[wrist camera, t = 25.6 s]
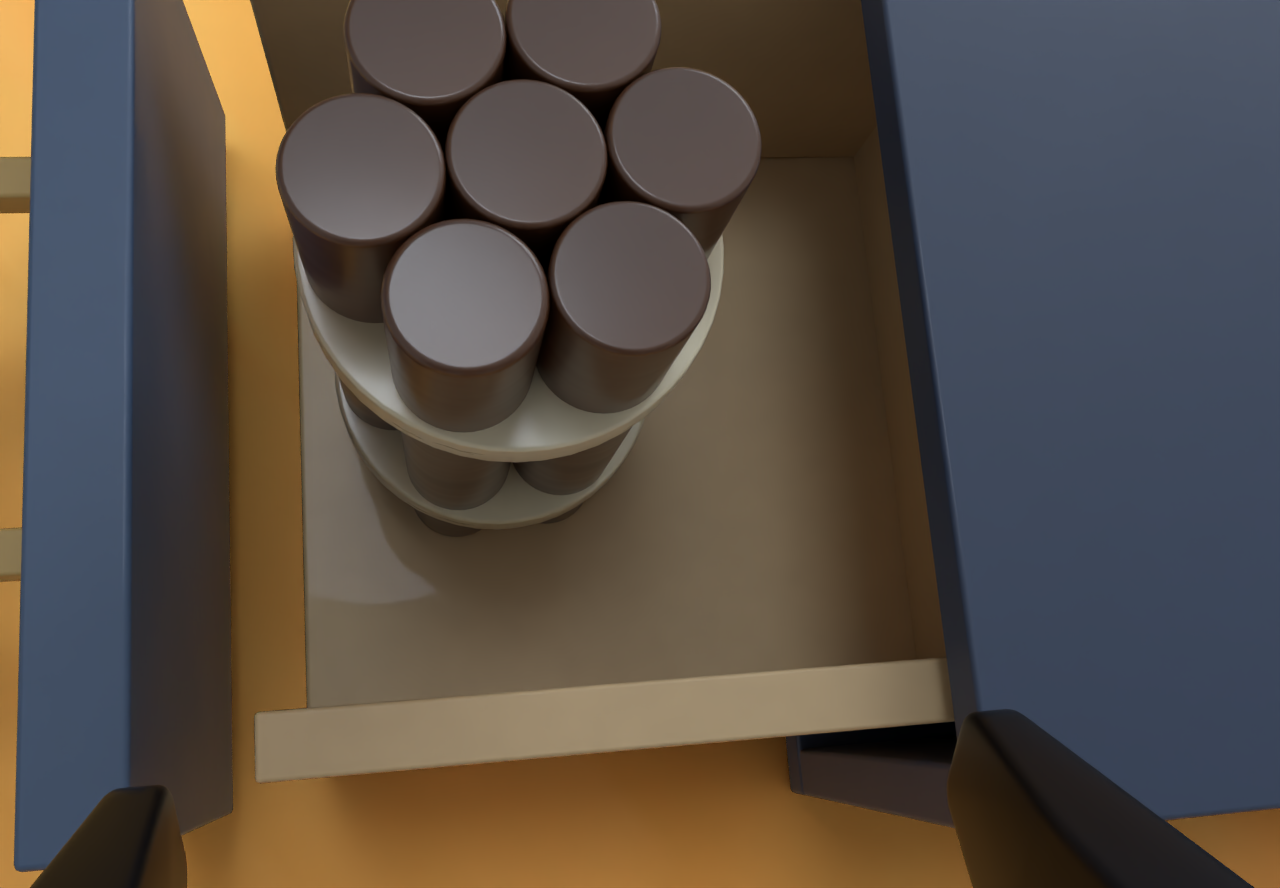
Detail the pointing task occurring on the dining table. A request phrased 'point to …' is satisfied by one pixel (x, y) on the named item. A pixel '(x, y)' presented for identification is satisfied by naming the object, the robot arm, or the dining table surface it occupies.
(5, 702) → the dining table surface
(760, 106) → the drawer
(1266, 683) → the cabinet
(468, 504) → the bundle
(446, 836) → the dining table surface
